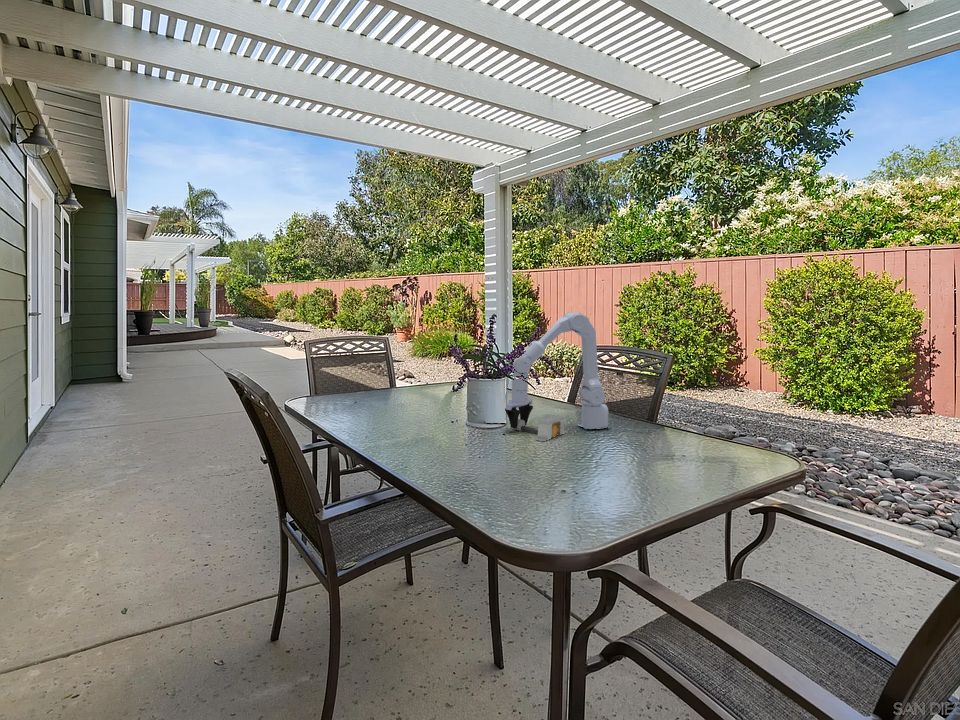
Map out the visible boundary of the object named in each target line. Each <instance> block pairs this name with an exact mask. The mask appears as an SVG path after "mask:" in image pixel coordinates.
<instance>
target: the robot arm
mask: <svg viewBox="0 0 960 720" xmlns="http://www.w3.org/2000/svg"><path fill="white" fill-rule="evenodd" d="M572 331H573V332H575V333H576V334H577V335H579V336H580V338H581V352H582V353H581V355H582V370H583V379H582V381H581V388H580V391H579V395H580V398H581V399H582V402H581V416H580V418H581V419H580V420H581V421H580V423H579V424H576V426H577V425H578V426H581V427H585V428H599V427H605V426H608V427H609V415H610V413H609V408H608V406H607V404H606V403H604V402H605V398H606V395H605V391H604V390H603V385H602V383H601V380H600V379H599V367H598V366H599V365H598V350H597V349H598V347H597V331H596V329H595V327H594V326H593V324H592V322H590V319H589V317H588V316H587V315H585V314H584V313H581V312H572V311H568V312H566V313H564V314H563V315H562V316H561V317H559V318H558V319H557V321H555V323H554V324H553V325H552V326H550V328H549V329H548V330H547V331H546V332H545V334H543V336H541V338H539V339H538V340H533V341H532V342H531V341H530V342H531V343H530V344H529V345H528V346H526V348H525V349H526V352H524V354H522V356H521V357H519V358H516V359H515V360H514V362H513V367H514V369H515V371H514V373H513V372H512V373H513V376H514V377H516V376H521V375H523V376H524V378H526V377H527V378H526V381H527V382H528V383H527V382H525V381H523V380H525V379H524V378H523V377H520V378H521V379H523V380H521V379H516V378H513V377H511V399H510V400H508V402H507V404H506V408H505V411H506V413H507V417H508V418H507V419H508V421H509V425H510V429H513V428H515V429H516V428H517V424H518V419H520V420H524V421H525V426H527V424H528V420H529V417H530V414H531V412H532V410H533V409H534V405H533V398H529V397H528V396H529V395H528V393H529V392H528V390H529V388H528V387H529V386H528V385H529V371H530V370H531V369H532V368H531V367H532V365H533V364H534V363H536V361H537V360H538V359H540V357H542V356H543V354H545V350H546V347H547V346H549V344H550V343H552V342H553V341H554V340H555V339H556V338H557V337H559V336H560V335H561V334H563V333H569V332H572ZM516 371H517V372H516ZM520 373H523V374H520ZM512 378H513V379H514V380H513V379H512ZM527 379H528V380H527ZM517 408H518V409H517ZM578 426H577V427H578Z"/></svg>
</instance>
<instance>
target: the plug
mask: <svg viewBox="0 0 960 720" xmlns="http://www.w3.org/2000/svg"><path fill="white" fill-rule="evenodd" d="M512 429H513V430H514V431H521V432H523V431H525V432H530V433H533V434H534V433H535V434H538V427H533V426H532V427H530V426H527V425H525V421H524V420H520V418H518V424H517V428H516V429H515V428H512ZM522 430H523V431H522ZM557 433H558V427H557V426H556V425H552V438H555V437H554V436H556V437H557V436H558V435H557Z"/></svg>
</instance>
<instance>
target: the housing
mask: <svg viewBox="0 0 960 720" xmlns="http://www.w3.org/2000/svg"><path fill="white" fill-rule="evenodd" d="M537 422H538V423H537V429H538V433H537V436H536V437H533V441H536V440H540V441H539V442H541V441H546V440H548V441H550V440H549V439H551V438H552V439H553V437H552V425H556V426H557V427H558V433H557V434H558V435H561V434H564V433H566V432H567V433H568V431H567V430H565V416H561V415H556V414H553V415H550V416H548V417H545V418H541V419H538V420H537ZM567 433H566V434H567ZM558 435H557V436H558ZM564 435H565V434H564ZM561 436H562V435H561ZM552 439H551V440H552ZM546 442H547V441H546Z"/></svg>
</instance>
